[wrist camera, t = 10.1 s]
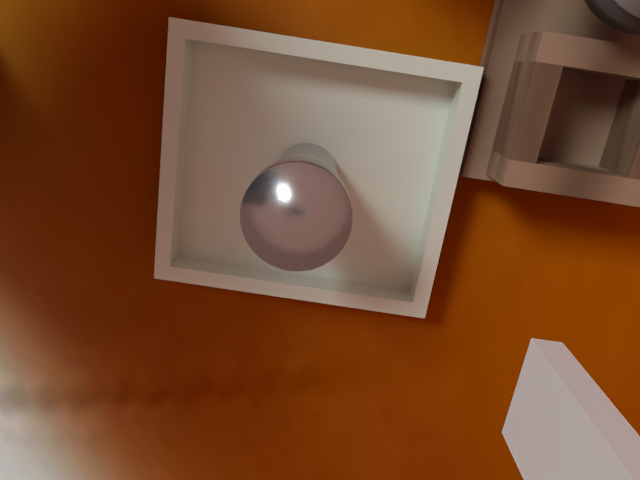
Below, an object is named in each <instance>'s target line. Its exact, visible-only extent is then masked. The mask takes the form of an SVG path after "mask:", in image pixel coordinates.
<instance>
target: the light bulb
mask: <svg viewBox="0 0 640 480" xmlns="http://www.w3.org/2000/svg"><path fill="white" fill-rule="evenodd" d="M352 220H353V219H352V206H351V200H350V196H349V193H348V190H347V188H346V186H345V184H344V183H343V181H342V179H341V178H340V177H339V176H338V169H337V165H336V162H335V160H334V158H333V157H332V155H331V154H330V153H329V152H328V151H327V150H326V149H324V148H323V147H321V146H319V145H316V144H312V143H302V144H298V145H295V146H293V147H291V148H289V149H288V150H287V151H286V152H285V153H284V154H283V155H282V156H281V158H280V159H279V161H276V162H274V163H272V164H270V165H269V166H267V167H265V168H264V169H263V170H262V171H261V172H260V173H259V174H258V175H257V176H256V177H255V178H254V180H253V181H252V183H251V184H250V186H249V187H248V189H247V190H246V192H245V194H244V197H243V200H242V203H241V208H240V225H241V229H242V233H243V235H244V238H245V240H246V242H247V244H248V245H249V247H250V248H251V249H252V251H253V252H254V253H255V254H256V255H257V256H258V257H259V258H261V259H262V260H263V261H265V262H266V263H268V264H270V265H272V266H274V267H276V268H279V269H282V270H287V271H308V270H312V269H316V268H318V267H321V266H323V265H325V264H326V263H328V262H330V261H331V260H332V259H334V258H335V257H336V256H337V255H338V254H339V253H340V252H341V250H342V249H343V248H344V246H345V244H346V242H347V241H348V238H349V236H350V232H351V228H352Z"/></svg>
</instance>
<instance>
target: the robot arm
mask: <svg viewBox="0 0 640 480" xmlns="http://www.w3.org/2000/svg"><path fill="white" fill-rule="evenodd" d="M502 434H503V436H504V438H505V441H506V443H507V445H508V447H509V449H510V451H511V454H512V456H513V458H514V460H515V462H516V464H517V467H518V469H519V471H520V473H521V475H522V477H523V479H524V480H640V436H639V435H638V434H637V433H636V431H635V430H634V429H633V428H632V426H631V425H630V424H629V423H628V422H627V420H626V419H625V418H624V417H623V416H622V414H621V413H620V412H619V411H618V409H617V408H616V407H615V406H614V405H613V403H612V402H611V401H610V400H609V399H608V397H607V396H606V395H605V394H604V392H603V391H602V390H601V389H600V388H599V386H598V385H597V384H596V383H595V381H594V380H593V379H592V378H591V377H590V375H589V374H588V373H587V372H586V371H585V369H584V368H583V367H582V366H581V364H580V363H579V362H578V361H577V360H576V358H575V357H574V356H573V355H572V354H571V352H570V351H569V350H568V349H567V347H566V346H565V345H564V344H563V343H562V342H555V341H548V340H541V339H534V338H531V341H530V344H529V347H528V350H527V353H526V357H525V360H524V363H523V366H522V369H521V373H520V376H519V379H518V382H517V385H516V389H515V392H514V395H513V398H512V401H511V405H510V408H509V411H508V414H507V417H506V421H505V424H504V427H503V430H502Z"/></svg>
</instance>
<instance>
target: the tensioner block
mask: <svg viewBox="0 0 640 480" xmlns="http://www.w3.org/2000/svg"><path fill="white" fill-rule="evenodd" d="M480 67H484V69H483V74H482V78H481V82H480V86H479V91H478V95H477V99H476V103H475V108H474V112H473V116H472V120H471V125H470V129H469V133H468V137H467V142H466V146H465V150H464V154H463V159H462V163H461V167H460V171H459V174H460V175H461V176H462V177H468V178H474V179H481V180H487V181H494V182H498V183H499V184H501V185H502V186H506V187H513V188H519V189H526V190H532V191H538V192H545V193H551V194H558V195H564V196H571V197H577V198H584V199H590V200H597V201H603V202H610V203H616V204H622V205H629V206H635V207H640V0H495V2H494V6H493V11H492V15H491V19H490V24H489V28H488V32H487V36H486V41H485V45H484V49H483V54H482V58H481V62H480Z"/></svg>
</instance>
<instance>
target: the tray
mask: <svg viewBox="0 0 640 480" xmlns="http://www.w3.org/2000/svg"><path fill="white" fill-rule="evenodd" d="M483 69H484V67H480V66H473V65H467V64H461V63H455V62H448V61H442V60H436V59H430V58H423V57H417V56H411V55H405V54H398V53H392V52H386V51H379V50H373V49H367V48H361V47H354V46H348V45H342V44H336V43H329V42H323V41H317V40H311V39H304V38H298V37H292V36H286V35H279V34H273V33H267V32H261V31H254V30H248V29H242V28H236V27H229V26H223V25H217V24H210V23H204V22H198V21H192V20H185V19H179V18H173V17H169V21H168V38H167V56H166V73H165V91H164V108H163V126H162V143H161V161H160V178H159V196H158V213H157V231H156V248H155V266H154V278H155V279H161V280H168V281H175V282H182V283H188V284H195V285H202V286H209V287H215V288H222V289H229V290H236V291H242V292H249V293H256V294H263V295H269V296H276V297H283V298H289V299H296V300H303V301H310V302H316V303H323V304H330V305H337V306H343V307H350V308H357V309H364V310H370V311H377V312H384V313H391V314H397V315H404V316H411V317H417V318H424V319H425V316H426V312H427V307H428V303H429V299H430V295H431V290H432V286H433V282H434V278H435V273H436V269H437V265H438V261H439V256H440V252H441V248H442V244H443V239H444V235H445V231H446V227H447V222H448V218H449V214H450V210H451V205H452V201H453V197H454V193H455V188H456V184H457V180H458V176H459V171H460V167H461V163H462V159H463V154H464V150H465V146H466V142H467V137H468V133H469V129H470V125H471V120H472V116H473V112H474V108H475V103H476V99H477V95H478V91H479V86H480V82H481V78H482V74H483ZM302 143H312V144H316V145H319V146H321V147H323V148H324V149H326V150H327V151H328V152H329V153H330V154H331V155H332V157H333V158H334V160H335V162H336V165H337V169H338V176H339V177H340V178H341V179H342V181H343V183H344V184H345V186H346V188H347V190H348V193H349V196H350V200H351V206H352V219H353V220H352V228H351V232H350V236H349V238H348V241H347V242H346V244H345V246H344V248H343V249H342V250H341V252H340V253H339V254H338V255H337V256H336V257H335V258H334V259H332V260H331V261H330V262H328V263H326V264H325V265H323V266H321V267H318V268H316V269H312V270H308V271H287V270H282V269H279V268H276V267H274V266H272V265H270V264H268V263H266V262H265V261H263V260H262V259H261V258H259V257H258V256H257V255H256V254H255V253H254V252H253V251H252V249H251V248H250V247H249V245H248V244H247V242H246V240H245V238H244V235H243V233H242V229H241V225H240V208H241V203H242V200H243V197H244V194H245V192H246V190H247V189H248V187H249V186H250V184H251V183H252V181H253V180H254V178H255V177H256V176H257V175H258V174H259V173H260V172H261V171H262V170H263V169H264V168H265V167H267V166H269V165H270V164H272V163H274V162H276V161H279V159H280V158H281V156H282V155H283V154H284V153H285V152H286V151H287V150H288V149H289V148H291V147H293V146H295V145H298V144H302Z"/></svg>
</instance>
